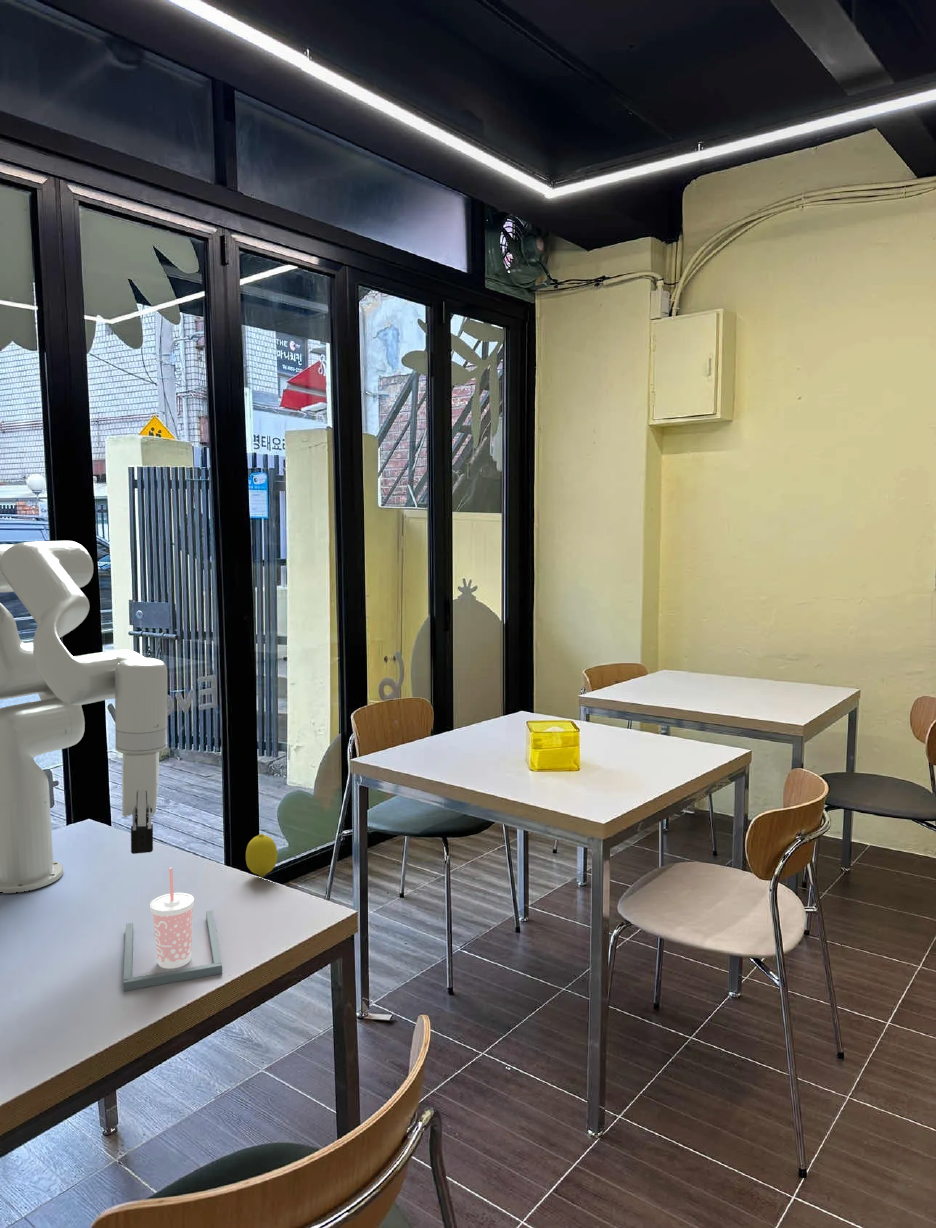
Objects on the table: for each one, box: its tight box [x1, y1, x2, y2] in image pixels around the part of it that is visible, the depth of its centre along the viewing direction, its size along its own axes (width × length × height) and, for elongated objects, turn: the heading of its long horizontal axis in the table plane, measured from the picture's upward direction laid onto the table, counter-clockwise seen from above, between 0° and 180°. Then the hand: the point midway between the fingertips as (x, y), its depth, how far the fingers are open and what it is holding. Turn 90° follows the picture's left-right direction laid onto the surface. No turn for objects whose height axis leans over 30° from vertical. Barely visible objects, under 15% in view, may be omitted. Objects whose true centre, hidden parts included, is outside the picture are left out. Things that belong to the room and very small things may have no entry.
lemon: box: [245, 833, 278, 878], centre depth 155 cm, size 6×6×8 cm
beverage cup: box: [149, 867, 195, 970], centre depth 125 cm, size 6×6×14 cm
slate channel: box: [122, 910, 223, 992], centre depth 129 cm, size 18×13×1 cm
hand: (142, 850), depth 136 cm, fingers closed
